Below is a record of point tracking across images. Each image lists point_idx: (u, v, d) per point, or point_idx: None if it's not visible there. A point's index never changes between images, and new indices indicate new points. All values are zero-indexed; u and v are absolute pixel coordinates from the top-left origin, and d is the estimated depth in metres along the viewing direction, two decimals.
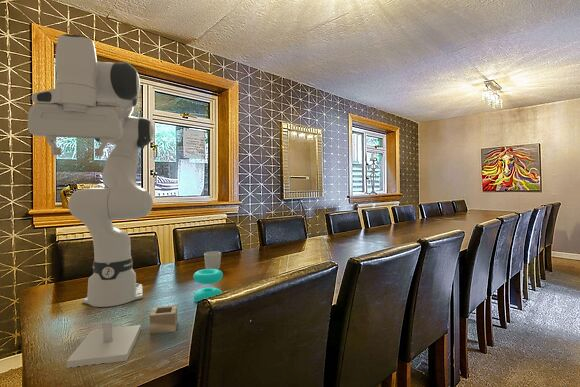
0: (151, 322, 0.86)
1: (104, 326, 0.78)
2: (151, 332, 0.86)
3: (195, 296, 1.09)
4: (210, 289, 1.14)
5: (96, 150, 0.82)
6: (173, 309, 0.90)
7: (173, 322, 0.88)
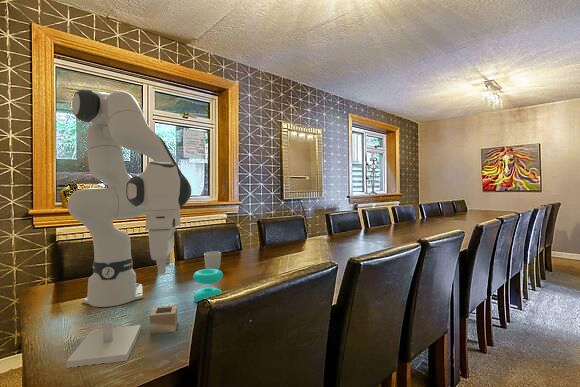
0: (151, 322, 0.86)
1: (104, 326, 0.78)
2: (151, 332, 0.86)
3: (195, 296, 1.09)
4: (210, 289, 1.14)
5: (169, 261, 0.94)
6: (173, 309, 0.90)
7: (173, 322, 0.88)
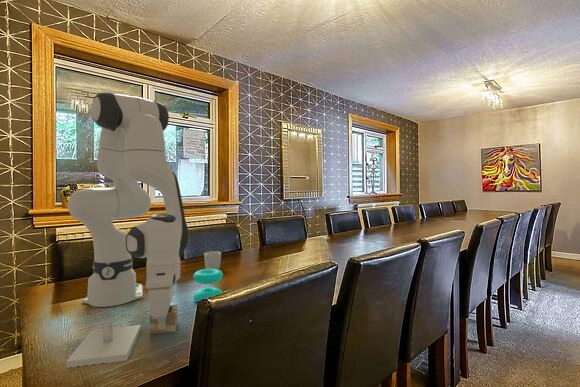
0: (151, 322, 0.86)
1: (104, 326, 0.78)
2: (151, 332, 0.86)
3: (195, 296, 1.09)
4: (210, 289, 1.14)
5: None
6: (173, 309, 0.90)
7: (173, 322, 0.88)
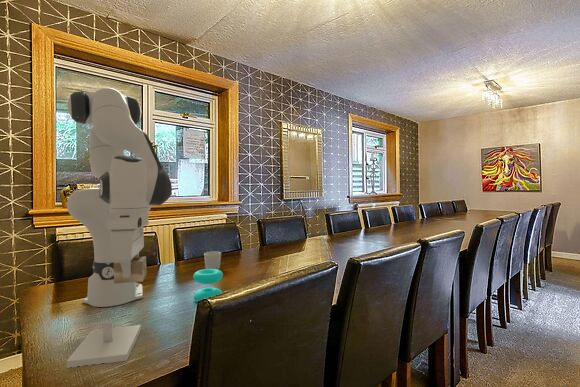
0: (115, 271, 0.79)
1: (104, 326, 0.78)
2: (115, 281, 0.79)
3: (195, 296, 1.09)
4: (210, 289, 1.14)
5: None
6: (141, 259, 0.83)
7: (140, 271, 0.81)
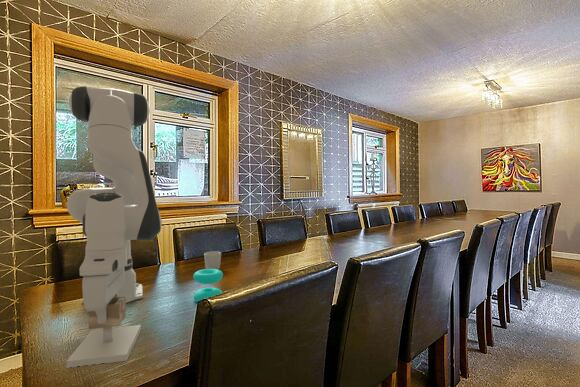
0: (90, 316, 0.75)
1: None
2: (90, 327, 0.75)
3: (195, 296, 1.09)
4: (210, 289, 1.14)
5: None
6: (118, 301, 0.79)
7: (116, 315, 0.77)
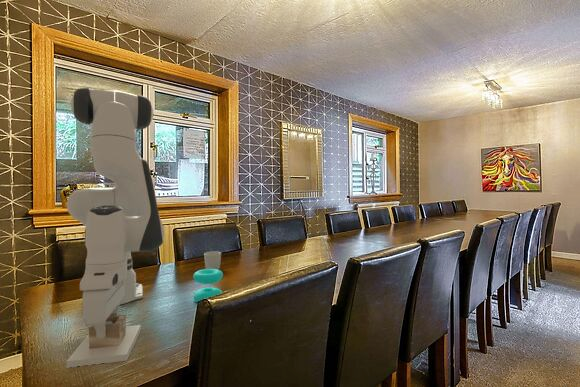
0: (90, 335, 0.75)
1: None
2: (90, 346, 0.76)
3: (195, 296, 1.09)
4: (210, 289, 1.14)
5: None
6: (119, 319, 0.80)
7: (117, 335, 0.77)
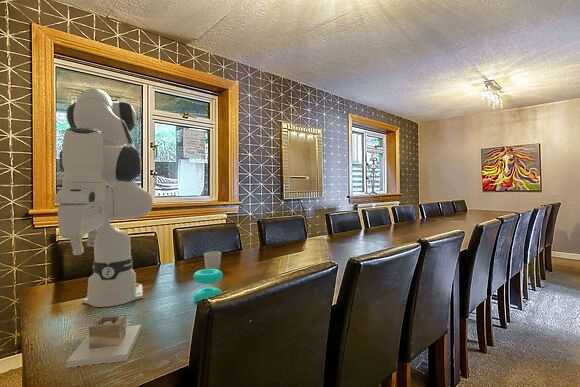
0: (90, 335, 0.75)
1: None
2: (90, 346, 0.76)
3: (195, 296, 1.09)
4: (210, 289, 1.14)
5: (94, 241, 0.84)
6: (119, 319, 0.80)
7: (117, 335, 0.77)
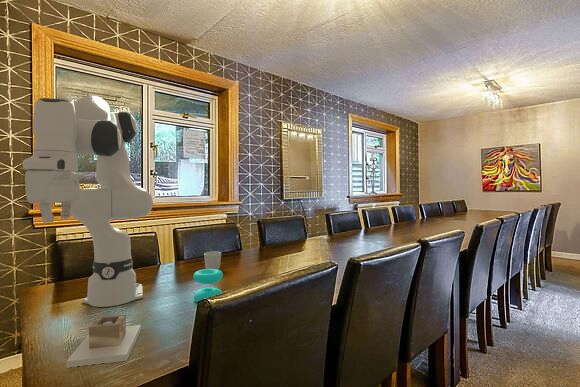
0: (90, 335, 0.75)
1: None
2: (90, 346, 0.76)
3: (195, 296, 1.09)
4: (210, 289, 1.14)
5: (68, 213, 0.84)
6: (119, 319, 0.80)
7: (117, 335, 0.77)
